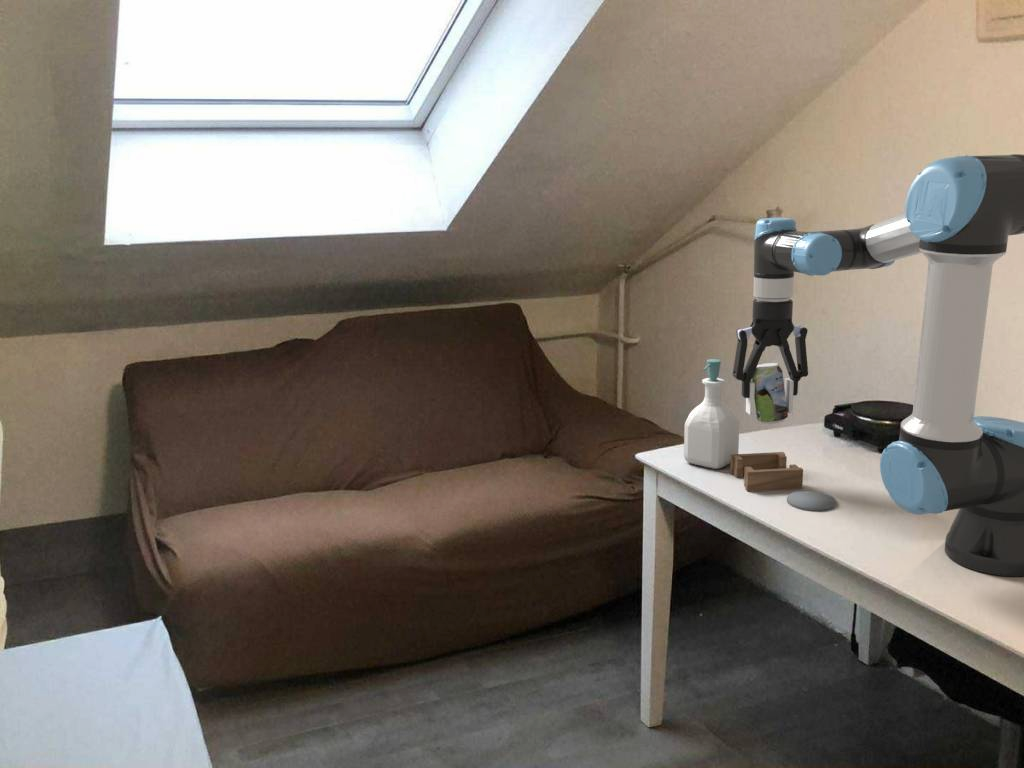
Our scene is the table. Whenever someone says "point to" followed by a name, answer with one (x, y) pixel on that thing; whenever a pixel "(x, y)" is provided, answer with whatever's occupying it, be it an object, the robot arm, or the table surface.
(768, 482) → the caddy
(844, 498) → the table surface
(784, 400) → the beverage can
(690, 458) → the soap bottle
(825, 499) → the coaster
